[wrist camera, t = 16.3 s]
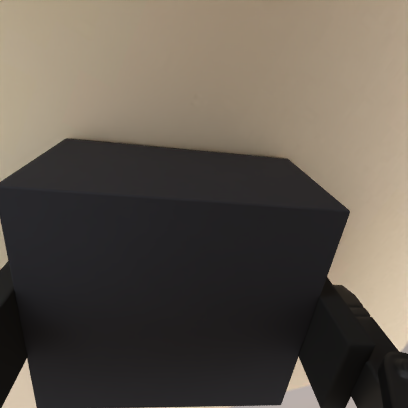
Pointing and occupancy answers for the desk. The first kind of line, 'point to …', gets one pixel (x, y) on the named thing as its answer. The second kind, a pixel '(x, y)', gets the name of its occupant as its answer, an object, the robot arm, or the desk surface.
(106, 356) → the black block
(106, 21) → the desk surface
